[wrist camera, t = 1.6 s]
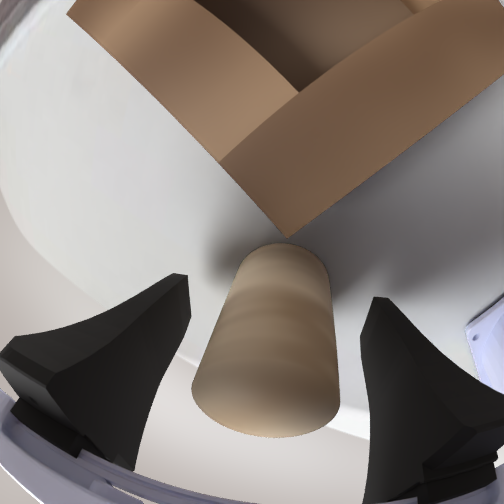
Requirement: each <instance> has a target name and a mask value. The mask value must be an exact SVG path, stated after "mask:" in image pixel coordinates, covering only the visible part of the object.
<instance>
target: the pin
mask: <svg viewBox="0 0 504 504" xmlns="http://www.w3.org/2000/svg"><path fill="white" fill-rule="evenodd" d="M191 389H192V395H193V398H194V400H195V402H196V404H197V405H198V407H199V408H200V409H201V410H202V411H203V412H204V413H205V414H206V415H207V416H208V417H210V418H211V419H213V420H214V421H216V422H217V423H219V424H221V425H223V426H225V427H227V428H229V429H232V430H235V431H237V432H241V433H244V434H248V435H254V436H260V437H269V438H284V437H293V436H299V435H303V434H307V433H310V432H312V431H315V430H317V429H320V428H321V427H323V426H325V425H326V424H328V423H329V422H330V421H331V420H332V419H333V418H334V417H335V415H336V414H337V412H338V410H339V407H340V389H339V373H338V359H337V347H336V336H335V326H334V317H333V308H332V299H331V291H330V283H329V277H328V273H327V270H326V268H325V266H324V265H323V263H322V262H321V261H320V260H319V258H318V257H317V256H315V255H314V254H313V253H312V252H310V251H308V250H307V249H305V248H302V247H300V246H297V245H293V244H288V243H274V244H269V245H265V246H262V247H260V248H258V249H256V250H254V251H253V252H251V253H250V254H249V255H248V256H246V258H245V259H244V260H243V261H242V263H241V264H240V266H239V269H238V271H237V273H236V276H235V278H234V281H233V283H232V286H231V288H230V291H229V293H228V296H227V298H226V300H225V303H224V305H223V308H222V310H221V313H220V315H219V318H218V320H217V323H216V325H215V328H214V330H213V333H212V335H211V338H210V340H209V343H208V345H207V348H206V350H205V353H204V355H203V358H202V360H201V363H200V365H199V368H198V370H197V373H196V375H195V378H194V380H193V383H192V388H191Z"/></svg>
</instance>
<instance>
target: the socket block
mask: <svg viewBox="0 0 504 504" xmlns="http://www.w3.org/2000/svg"><path fill="white" fill-rule="evenodd" d="M66 15H67V16H69V17H70V18H71V19H72V20H73V21H74V22H75V23H77V24H78V25H79V26H80V27H81V28H82V29H83V30H84V31H85V32H87V33H88V34H89V35H90V36H91V37H92V38H93V39H94V40H95V41H96V42H97V43H98V44H100V45H101V46H102V47H103V48H104V49H105V50H106V51H107V52H108V53H109V54H110V55H111V56H112V57H113V58H115V59H116V60H117V61H118V62H119V63H120V64H121V65H122V66H123V67H124V68H125V69H126V70H127V71H128V72H129V73H130V74H131V75H132V76H133V77H134V78H135V79H136V80H137V81H138V82H139V83H140V84H141V85H143V86H144V87H145V88H146V89H147V90H148V91H149V92H150V93H151V94H152V95H153V96H154V97H155V98H156V99H157V100H158V101H159V102H160V103H161V104H162V105H163V106H164V107H165V108H166V109H167V110H168V111H169V112H170V113H171V114H172V115H173V116H174V118H175V119H176V120H177V121H178V122H179V123H180V124H181V125H182V126H183V127H184V128H185V129H186V130H187V131H188V132H189V133H190V134H191V135H192V136H193V137H194V138H195V139H196V140H197V141H198V142H199V143H200V144H201V145H202V146H203V147H204V149H205V150H206V151H207V152H208V153H209V154H210V155H211V156H212V157H213V158H214V159H215V160H216V161H217V162H218V163H219V164H220V165H221V167H222V168H223V169H224V170H225V171H226V172H227V173H228V174H229V175H230V176H231V177H232V178H233V179H234V181H235V182H236V183H237V184H238V185H239V186H240V187H241V188H242V189H243V190H244V191H245V192H246V194H247V195H248V196H249V197H250V198H251V199H252V200H253V201H254V202H255V203H256V205H257V206H258V207H259V208H260V209H261V210H262V211H263V212H264V213H265V215H266V216H267V217H268V218H269V219H270V220H271V221H272V222H273V224H274V225H275V226H276V227H277V228H278V229H279V230H280V231H281V233H282V234H283V235H284V236H285V237H286V238H287V239H288V238H289V237H290V236H292V235H293V234H294V233H296V232H297V231H298V230H300V229H301V228H302V227H304V226H305V225H306V224H308V223H309V222H311V221H312V220H313V219H315V218H316V217H317V216H319V215H320V214H321V213H323V212H324V211H325V210H327V209H328V208H329V207H331V206H332V205H333V204H335V203H336V202H337V201H339V200H340V199H341V198H343V197H344V196H345V195H347V194H348V193H349V192H351V191H352V190H353V189H355V188H356V187H357V186H359V185H360V184H361V183H363V182H364V181H365V180H367V179H368V178H369V177H371V176H372V175H373V174H375V173H376V172H377V171H379V170H380V169H381V168H383V167H384V166H385V165H387V164H388V163H389V162H391V161H392V160H393V159H395V158H396V157H397V156H399V155H400V154H401V153H403V152H404V151H405V150H407V149H408V148H409V147H410V146H412V145H413V144H414V143H416V142H417V141H418V140H420V139H421V138H422V137H424V136H425V135H426V134H427V133H429V132H430V131H431V130H433V129H434V128H435V127H437V126H438V125H439V124H441V123H442V122H443V121H444V120H446V119H447V118H448V117H450V116H451V115H452V114H453V113H455V112H456V111H457V110H459V109H460V108H461V107H463V106H464V105H465V104H466V103H468V102H469V101H470V100H472V99H473V98H474V97H475V96H477V95H478V94H479V93H480V92H482V91H483V90H484V89H486V88H487V87H488V86H489V85H491V84H492V83H493V82H495V81H496V80H497V79H498V78H500V77H501V76H502V75H503V74H504V7H503V6H502V5H501V3H500V2H499V1H498V0H76V2H75V3H74V4H73V6H72V7H71V8H70V10H69V11H68V12H67V14H66Z"/></svg>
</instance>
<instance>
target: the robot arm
mask: <svg viewBox="0 0 504 504" xmlns="http://www.w3.org/2000/svg"><path fill="white" fill-rule="evenodd" d="M190 319H191V307H190V297H189V286H188V275H182V274H176V273H173V274H171V275H169V276H167V277H165V278H164V279H162V280H160V281H159V282H157V283H155V284H154V285H152V286H151V287H149V288H147V289H146V290H144V291H142V292H141V293H139V294H137V295H136V296H134V297H132V298H130V299H128V300H127V301H125V302H123V303H121V304H119V305H117V306H116V307H114V308H112V309H110V310H108V311H106V312H103V313H101V314H99V315H96V316H94V317H92V318H89V319H87V320H84V321H81V322H78V323H75V324H72V325H69V326H66V327H63V328H59V329H55V330H51V331H47V332H42V333H36V334H29V335H22V336H15V337H14V338H13V339H12V340H11V341H10V342H9V343H8V344H7V345H6V347H5V348H4V349H3V350H2V351H1V352H0V371H1V372H2V374H3V376H4V377H5V378H6V380H7V381H8V383H9V384H10V385H11V387H12V388H13V389H14V391H15V392H16V393H17V395H18V396H19V397H20V398H19V399H18V400H17V402H15V401H14V400H13V399H12V398H11V397H10V396H9V395H8V394H6V393H5V392H4V391H3V390H1V389H0V466H1V467H2V468H3V469H4V470H5V471H6V472H7V473H8V474H9V475H10V476H11V477H12V478H13V479H14V480H15V481H16V482H17V483H18V484H19V485H20V486H22V487H23V488H24V489H25V490H26V491H27V492H28V493H29V494H31V495H32V496H33V497H34V498H35V499H37V500H38V501H39V502H40V503H41V504H144V503H143V502H142V501H141V500H138V499H136V498H134V497H132V496H130V495H128V494H125V493H123V492H121V491H119V490H117V489H115V488H114V487H113V486H115V487H118V488H120V489H122V490H124V491H127V492H129V493H132V494H134V495H137V496H139V497H142V498H144V499H147V500H150V501H153V502H156V503H159V504H257V503H249V502H242V501H235V500H230V499H224V498H219V497H214V496H210V495H206V494H201V493H197V492H193V491H189V490H186V489H182V488H178V487H174V486H172V485H168V484H165V483H162V482H159V481H156V480H153V479H150V478H148V477H144V476H142V475H139V474H136V473H134V472H133V471H134V470H135V464H136V460H137V455H138V451H139V446H140V442H141V439H142V435H143V431H144V428H145V424H146V421H147V418H148V415H149V412H150V409H151V406H152V403H153V400H154V398H155V395H156V392H157V389H158V387H159V385H160V382H161V380H162V378H163V376H164V374H165V372H166V370H167V368H168V367H169V365H170V363H171V361H172V359H173V357H174V355H175V353H176V351H177V349H178V347H179V346H180V344H181V342H182V340H183V338H184V335H185V333H186V330H187V327H188V324H189V321H190ZM465 334H466V337H467V340H468V343H469V346H470V349H471V352H472V355H473V358H474V361H475V365H476V368H477V372H478V375H479V379H480V381H479V380H477V379H476V378H474V377H473V376H471V375H470V374H468V373H467V372H465V371H464V370H463V369H461V368H460V367H459V366H457V365H456V364H455V363H453V362H452V361H451V360H450V359H449V358H447V357H446V356H445V355H444V354H443V353H442V352H440V351H439V350H438V349H437V348H436V347H435V346H434V345H433V344H432V343H431V342H430V341H429V340H428V339H427V338H426V337H425V336H424V335H423V334H422V333H421V332H420V331H419V330H418V329H417V328H416V327H415V326H414V325H413V324H412V322H411V321H410V320H409V319H408V318H407V317H406V316H405V315H404V314H403V313H402V312H401V311H400V309H399V308H398V307H397V306H396V305H395V304H394V303H393V302H392V301H391V300H390V299H389V298H383V297H373V300H372V303H371V306H370V309H369V312H368V315H367V318H366V321H365V324H364V327H363V329H362V332H361V335H360V347H361V360H362V366H363V372H364V377H365V383H366V389H367V395H368V401H369V410H370V452H369V464H368V474H367V481H366V487H365V493H364V498H363V503H362V504H504V464H502V465H500V466H498V467H496V468H495V467H494V463H493V462H495V461H496V460H497V459H498V455H497V450H498V449H499V448H501V447H502V446H503V445H504V297H503V298H502V299H501V300H500V301H498V302H497V303H496V304H495V305H493V306H492V307H491V308H490V309H488V310H487V311H486V312H484V313H483V314H482V315H480V316H479V317H478V318H476V319H475V320H474V321H472V322H471V323H470V324H469V325H468V326H467V327H466V330H465ZM112 485H113V486H112Z"/></svg>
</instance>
